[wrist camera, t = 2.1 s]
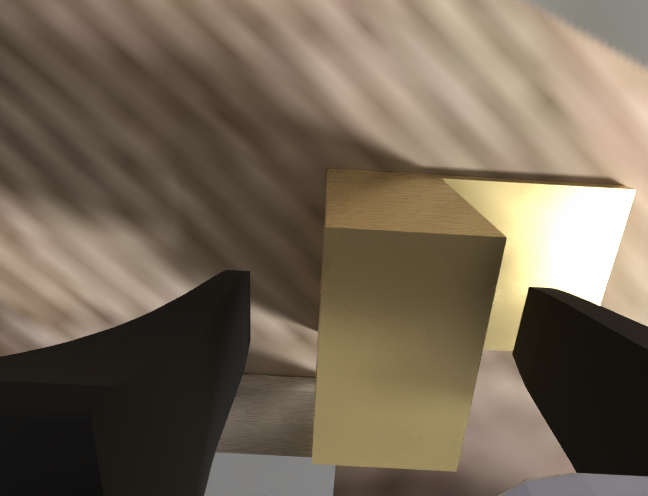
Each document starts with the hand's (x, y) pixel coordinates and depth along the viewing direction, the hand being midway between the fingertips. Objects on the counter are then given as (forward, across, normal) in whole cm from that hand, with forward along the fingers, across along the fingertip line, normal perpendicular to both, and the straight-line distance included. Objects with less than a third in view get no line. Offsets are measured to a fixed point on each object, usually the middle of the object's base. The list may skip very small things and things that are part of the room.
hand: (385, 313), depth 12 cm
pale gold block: (+4, -3, 0) cm, 5 cm away
